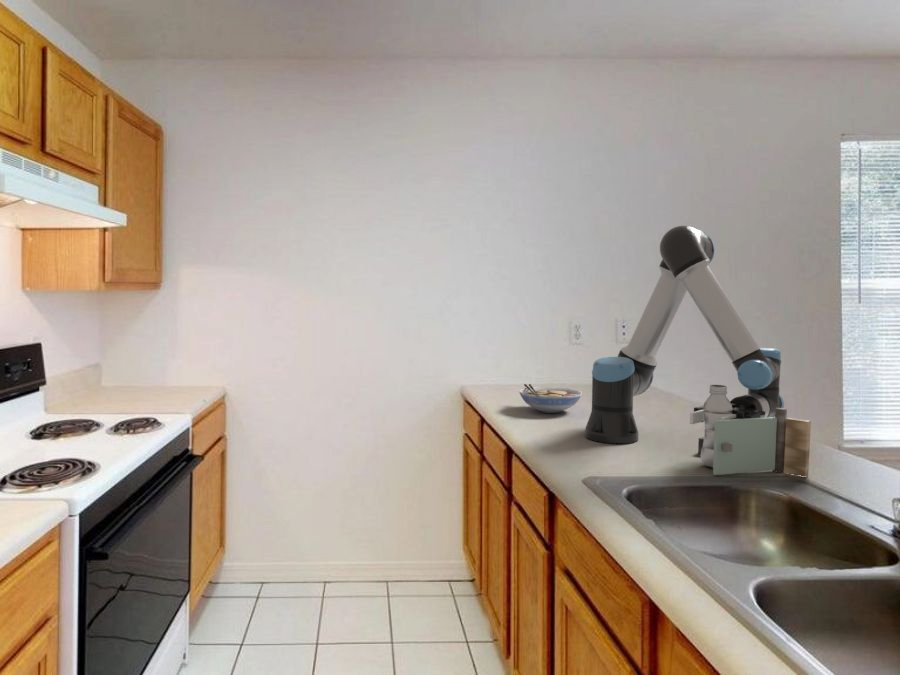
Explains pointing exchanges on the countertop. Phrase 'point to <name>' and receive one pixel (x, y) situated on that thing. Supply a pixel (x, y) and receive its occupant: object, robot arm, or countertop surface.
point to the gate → (744, 445)
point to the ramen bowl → (550, 398)
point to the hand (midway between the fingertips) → (706, 420)
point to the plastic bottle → (713, 419)
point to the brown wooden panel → (789, 444)
